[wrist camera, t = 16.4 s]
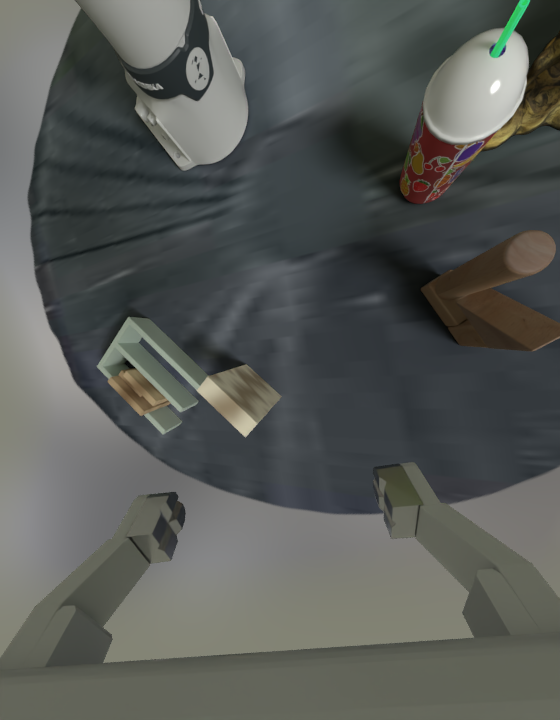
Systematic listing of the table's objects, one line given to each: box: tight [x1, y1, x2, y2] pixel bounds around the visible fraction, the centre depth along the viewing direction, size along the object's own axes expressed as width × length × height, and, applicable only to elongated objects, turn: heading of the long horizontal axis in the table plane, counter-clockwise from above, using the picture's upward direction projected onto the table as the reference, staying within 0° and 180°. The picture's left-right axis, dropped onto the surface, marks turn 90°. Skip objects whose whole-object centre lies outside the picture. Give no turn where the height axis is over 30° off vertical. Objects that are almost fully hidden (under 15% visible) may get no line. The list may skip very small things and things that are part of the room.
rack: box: [97, 317, 209, 434], centre depth 47 cm, size 19×13×5 cm, turn 50°
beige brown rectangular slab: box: [197, 364, 282, 437], centre depth 38 cm, size 9×3×14 cm, turn 50°
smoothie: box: [400, 0, 530, 204], centre depth 26 cm, size 8×8×20 cm
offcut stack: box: [108, 368, 170, 416], centre depth 46 cm, size 10×4×8 cm, turn 50°
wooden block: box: [421, 230, 560, 351], centre depth 28 cm, size 4×11×18 cm, turn 35°
